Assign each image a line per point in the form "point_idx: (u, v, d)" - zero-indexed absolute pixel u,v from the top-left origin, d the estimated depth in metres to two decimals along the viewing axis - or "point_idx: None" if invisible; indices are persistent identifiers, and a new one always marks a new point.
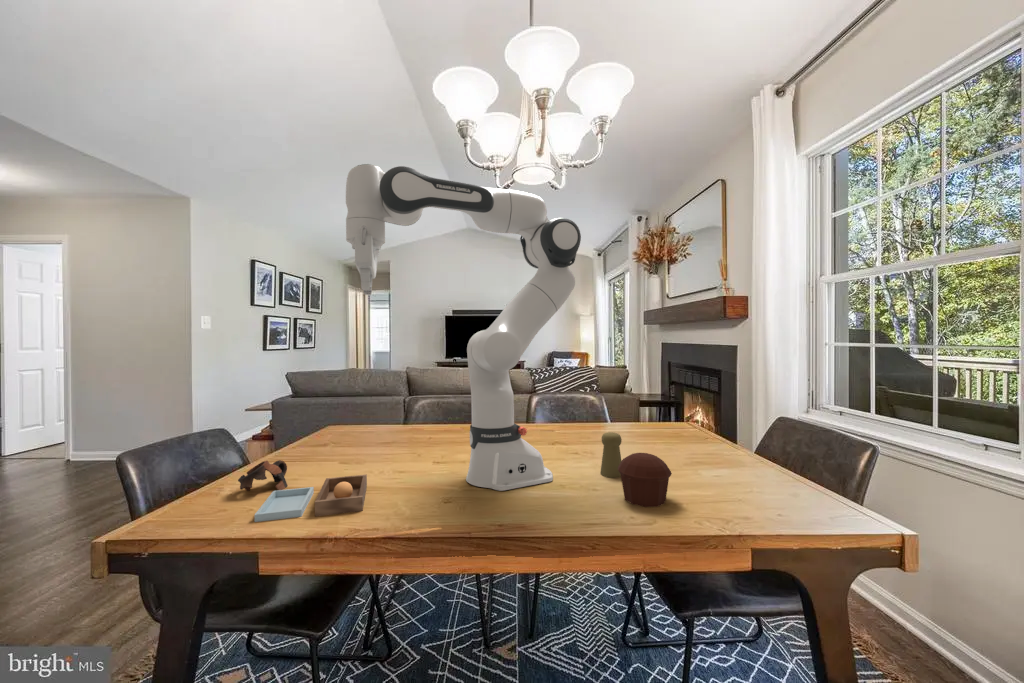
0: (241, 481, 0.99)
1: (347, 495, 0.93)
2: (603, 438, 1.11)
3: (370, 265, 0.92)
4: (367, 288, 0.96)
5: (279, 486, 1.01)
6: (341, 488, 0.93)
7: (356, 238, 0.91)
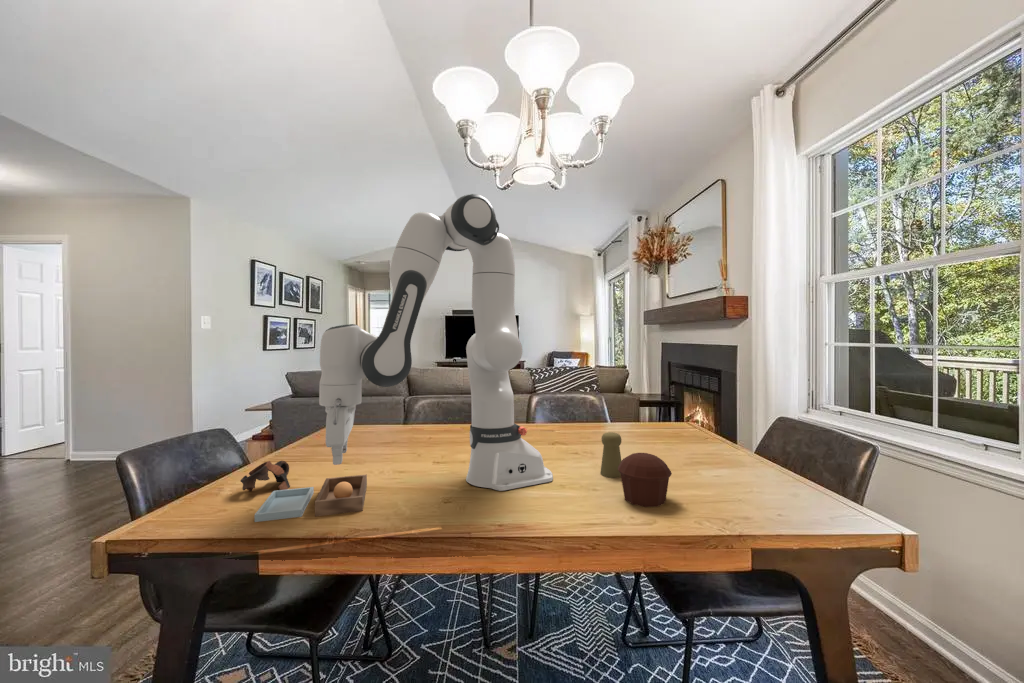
0: (244, 482, 0.98)
1: (347, 495, 0.93)
2: (603, 438, 1.11)
3: (342, 445, 0.86)
4: (339, 463, 0.89)
5: (282, 487, 1.01)
6: (341, 488, 0.93)
7: (327, 417, 0.85)
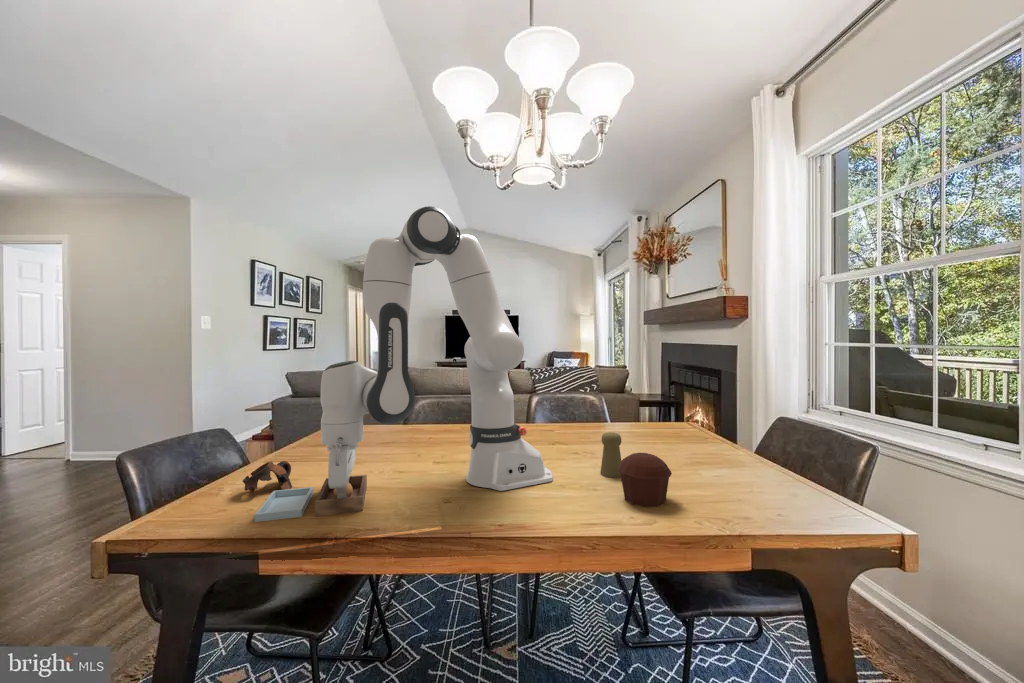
0: (246, 482, 0.98)
1: (347, 495, 0.93)
2: (603, 438, 1.11)
3: (345, 486, 0.86)
4: None
5: (284, 487, 1.01)
6: None
7: (329, 459, 0.85)
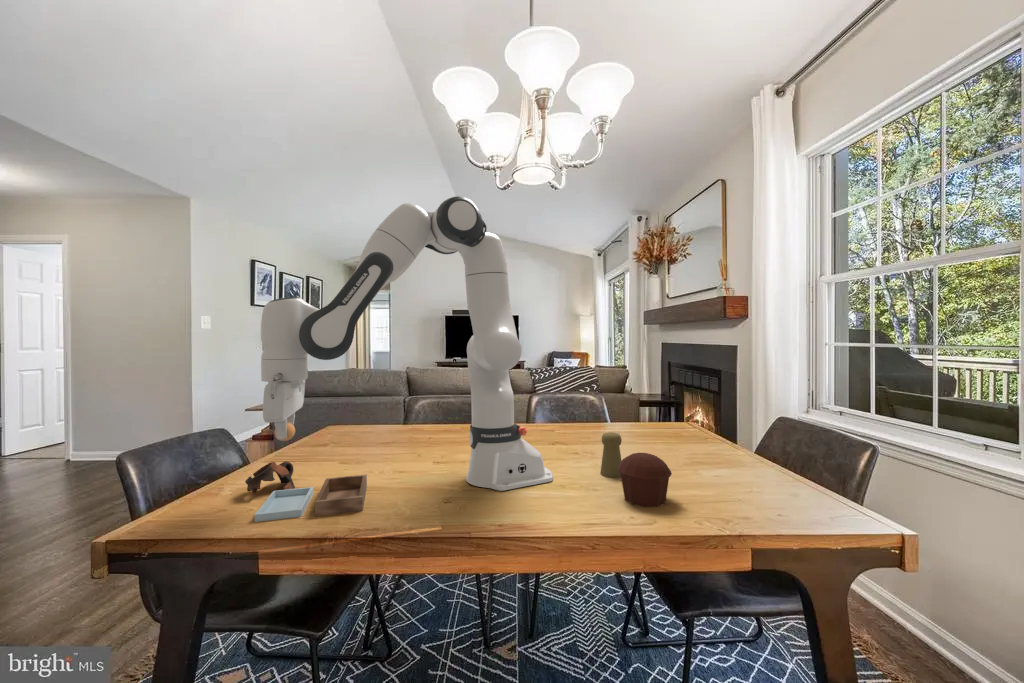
0: (249, 483, 0.97)
1: (288, 435, 0.90)
2: (603, 438, 1.11)
3: (281, 420, 0.83)
4: (283, 437, 0.88)
5: (287, 487, 1.00)
6: None
7: (265, 391, 0.82)
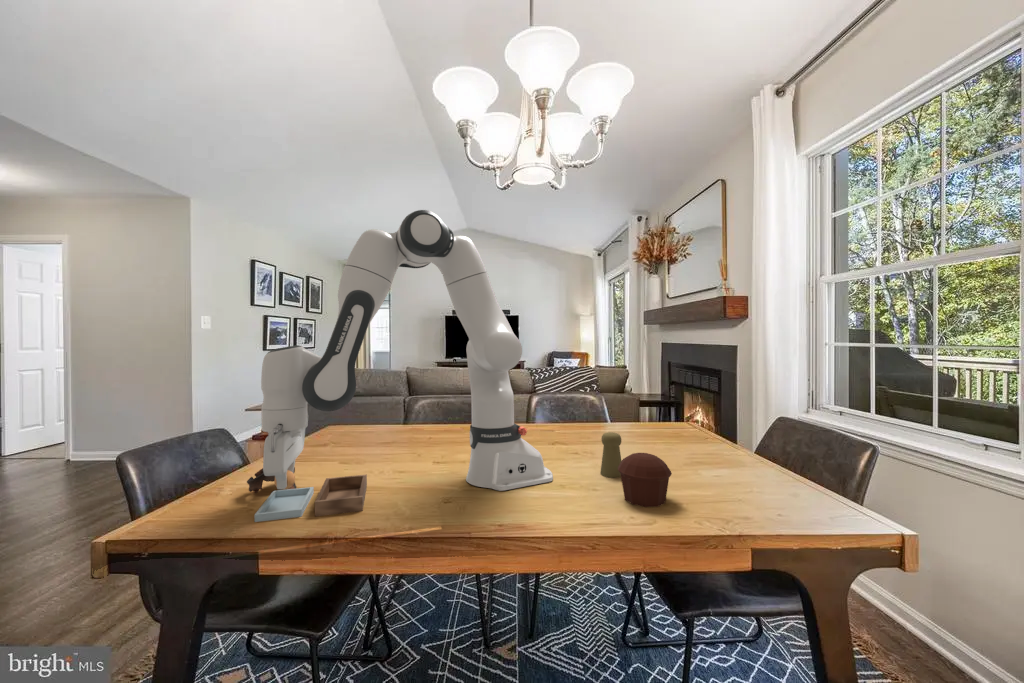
0: (250, 483, 0.97)
1: (288, 484, 0.90)
2: (603, 438, 1.11)
3: (281, 474, 0.83)
4: (284, 487, 0.88)
5: (289, 488, 1.00)
6: None
7: (265, 445, 0.82)
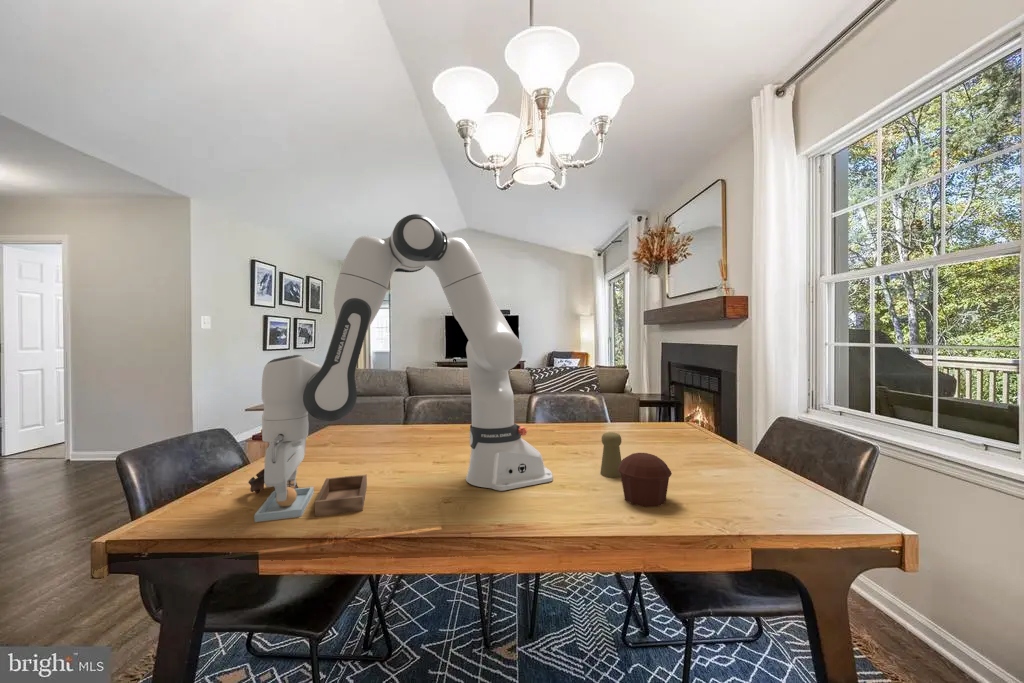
0: (252, 483, 0.97)
1: (290, 501, 0.90)
2: (603, 438, 1.11)
3: (282, 484, 0.83)
4: (284, 499, 0.87)
5: None
6: None
7: (266, 456, 0.82)
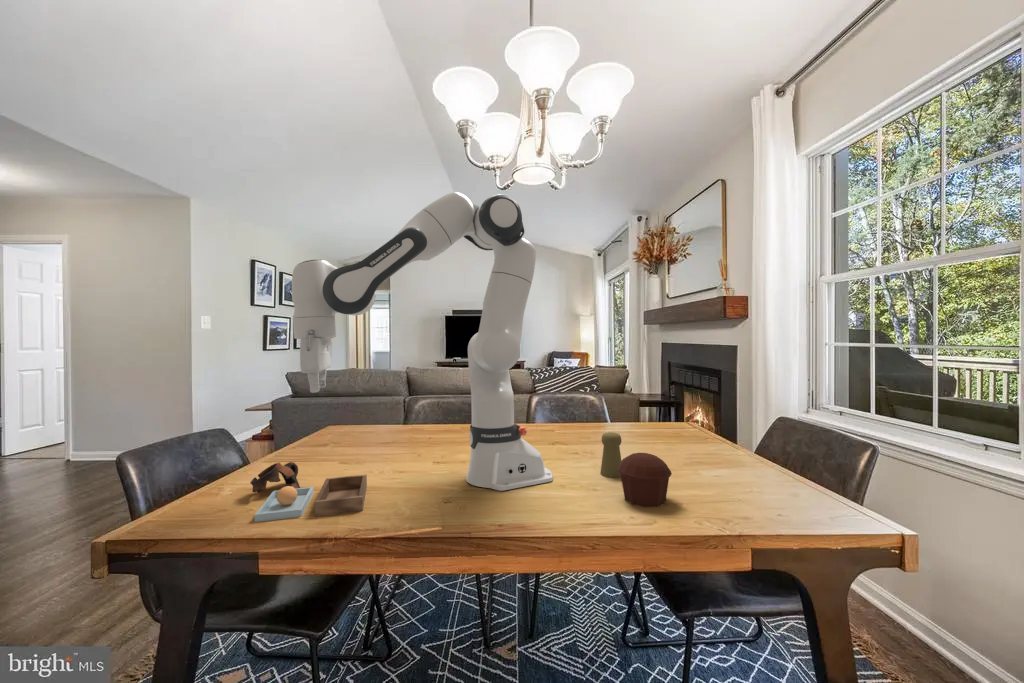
0: (254, 484, 0.97)
1: (290, 497, 0.91)
2: (603, 438, 1.11)
3: (317, 371, 0.89)
4: (316, 391, 0.93)
5: None
6: (285, 489, 0.91)
7: (301, 344, 0.88)
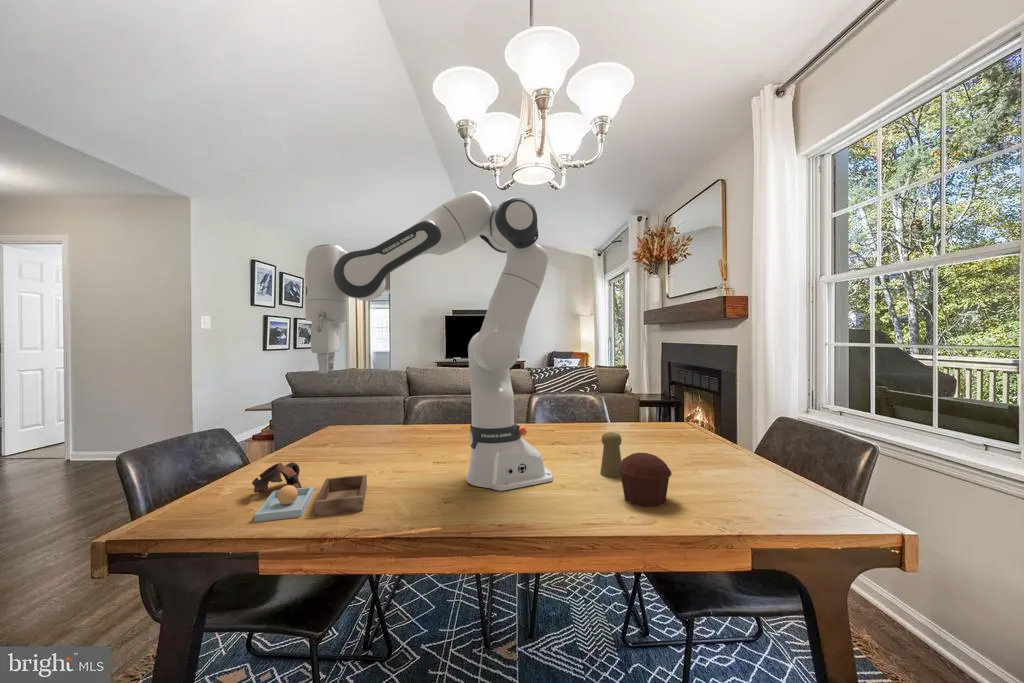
0: (256, 484, 0.96)
1: (291, 494, 0.91)
2: (603, 438, 1.11)
3: (326, 352, 0.91)
4: (325, 371, 0.95)
5: None
6: (286, 487, 0.92)
7: (312, 325, 0.91)
